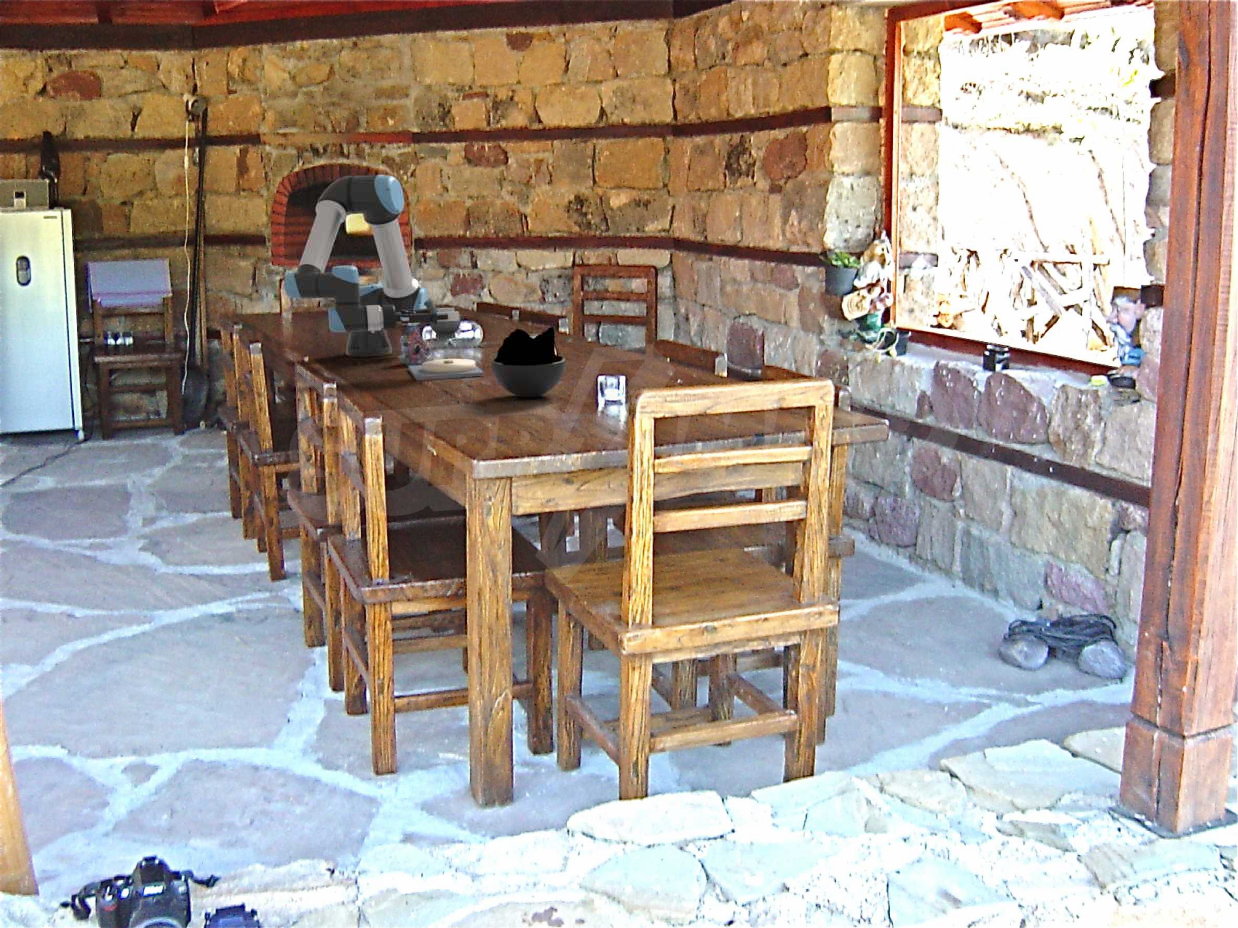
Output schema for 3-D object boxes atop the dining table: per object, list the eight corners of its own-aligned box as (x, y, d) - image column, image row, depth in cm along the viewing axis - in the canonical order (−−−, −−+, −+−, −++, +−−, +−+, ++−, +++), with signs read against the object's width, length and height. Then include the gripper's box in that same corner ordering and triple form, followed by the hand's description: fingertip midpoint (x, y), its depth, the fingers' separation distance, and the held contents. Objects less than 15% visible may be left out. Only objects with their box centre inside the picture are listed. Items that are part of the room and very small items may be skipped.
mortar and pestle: (455, 335, 404) (453, 295, 401) (466, 338, 396) (464, 298, 393) (420, 337, 399) (418, 298, 396) (431, 341, 391) (429, 300, 388)
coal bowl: (485, 403, 349) (482, 332, 345) (501, 390, 368) (499, 323, 364) (559, 403, 346) (557, 332, 342) (572, 390, 366) (570, 323, 362)
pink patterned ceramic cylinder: (428, 359, 413) (405, 329, 413) (404, 380, 417) (382, 349, 417) (444, 354, 423) (422, 324, 423) (421, 374, 427) (399, 344, 428)
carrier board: (408, 369, 409) (408, 357, 409) (472, 365, 414) (472, 354, 414) (416, 380, 389) (416, 367, 388) (483, 376, 394) (483, 363, 393)
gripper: (379, 326, 403) (452, 322, 409) (385, 334, 382) (462, 331, 387) (378, 301, 402) (451, 298, 407) (383, 309, 381) (460, 305, 386)
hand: (456, 314), depth 397 cm, fingers closed on mortar and pestle, 10 cm apart
